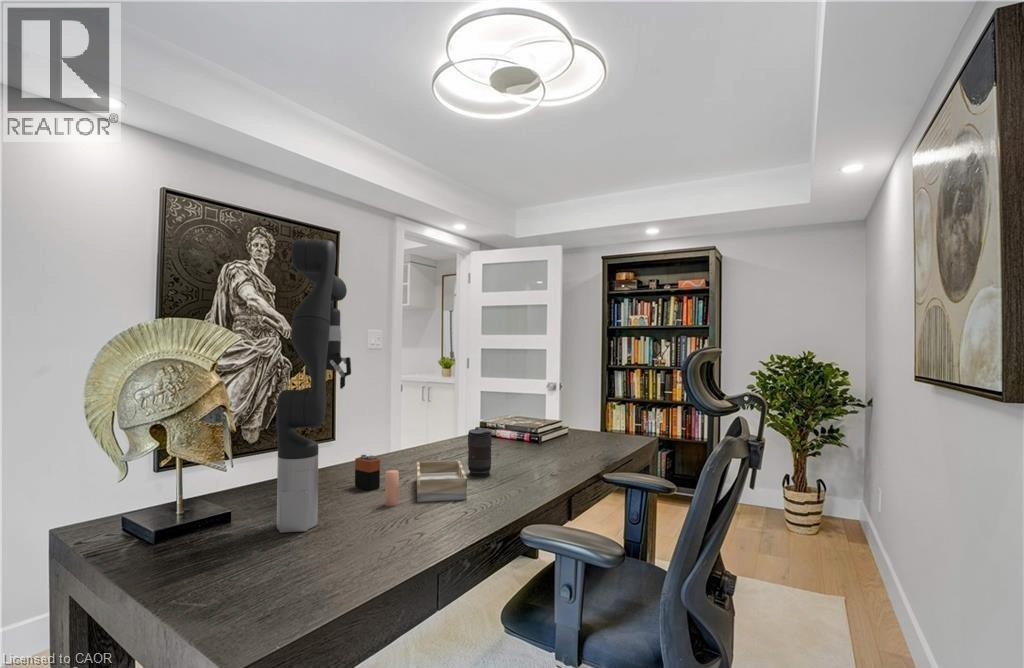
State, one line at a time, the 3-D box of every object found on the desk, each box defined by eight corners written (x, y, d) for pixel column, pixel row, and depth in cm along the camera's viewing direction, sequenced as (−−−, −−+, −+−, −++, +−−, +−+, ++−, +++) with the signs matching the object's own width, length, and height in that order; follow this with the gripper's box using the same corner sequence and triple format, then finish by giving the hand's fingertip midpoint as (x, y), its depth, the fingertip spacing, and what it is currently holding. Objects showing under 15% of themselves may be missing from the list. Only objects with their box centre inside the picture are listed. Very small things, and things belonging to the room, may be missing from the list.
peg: (398, 506, 141) (398, 473, 141) (384, 506, 140) (385, 473, 140) (398, 501, 145) (398, 469, 145) (385, 502, 144) (385, 470, 144)
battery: (369, 491, 154) (369, 458, 154) (354, 487, 158) (354, 455, 158) (380, 488, 158) (380, 455, 158) (365, 484, 161) (365, 452, 161)
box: (466, 499, 147) (466, 478, 147) (417, 501, 145) (417, 480, 145) (459, 478, 169) (460, 460, 169) (416, 480, 166) (416, 461, 166)
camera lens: (462, 475, 173) (463, 430, 173) (477, 470, 180) (478, 427, 180) (481, 479, 169) (481, 433, 169) (496, 474, 175) (496, 430, 175)
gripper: (303, 339, 165) (303, 389, 165) (349, 339, 168) (349, 389, 168) (308, 339, 172) (307, 387, 172) (352, 339, 175) (351, 387, 175)
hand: (328, 388), depth 170 cm, fingers open, 8 cm apart
